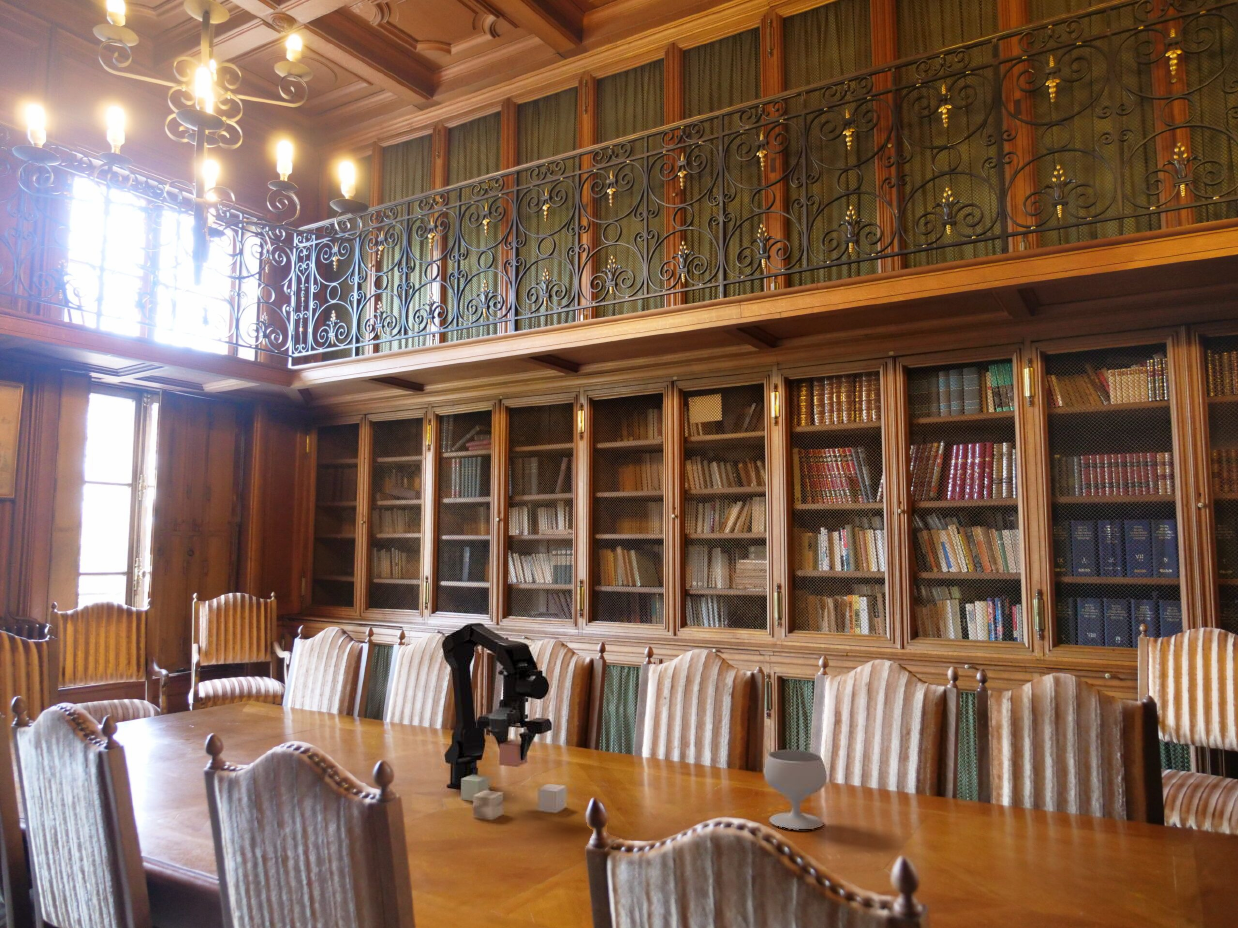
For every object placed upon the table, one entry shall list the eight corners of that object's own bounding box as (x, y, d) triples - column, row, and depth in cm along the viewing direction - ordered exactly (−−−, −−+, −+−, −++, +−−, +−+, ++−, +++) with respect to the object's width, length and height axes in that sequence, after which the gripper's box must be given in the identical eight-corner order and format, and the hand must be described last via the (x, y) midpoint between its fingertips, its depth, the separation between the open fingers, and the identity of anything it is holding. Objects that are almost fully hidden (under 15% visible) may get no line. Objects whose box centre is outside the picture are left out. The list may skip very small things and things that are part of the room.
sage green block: (460, 799, 209) (461, 778, 209) (472, 794, 213) (472, 774, 214) (477, 801, 207) (478, 780, 207) (488, 796, 211) (489, 776, 212)
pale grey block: (537, 810, 200) (538, 788, 200) (547, 804, 204) (548, 783, 205) (556, 813, 198) (556, 791, 198) (566, 807, 202) (566, 785, 203)
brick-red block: (499, 764, 205) (499, 743, 206) (509, 760, 210) (510, 739, 210) (516, 766, 203) (517, 745, 204) (527, 762, 208) (527, 741, 208)
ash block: (473, 817, 194) (473, 795, 195) (484, 811, 199) (485, 789, 200) (491, 820, 192) (491, 797, 193) (502, 814, 197) (503, 792, 197)
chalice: (830, 817, 195) (828, 750, 196) (824, 836, 182) (823, 764, 183) (770, 811, 199) (769, 746, 201) (760, 829, 186) (759, 759, 188)
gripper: (464, 696, 205) (462, 762, 203) (530, 702, 197) (529, 770, 196) (489, 690, 215) (488, 752, 213) (553, 695, 208) (552, 760, 206)
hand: (513, 759), depth 207 cm, fingers closed on brick-red block, 5 cm apart
